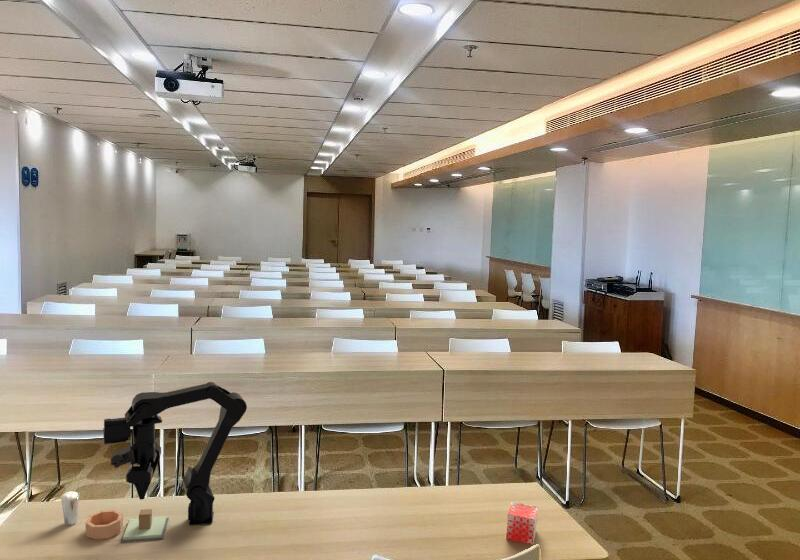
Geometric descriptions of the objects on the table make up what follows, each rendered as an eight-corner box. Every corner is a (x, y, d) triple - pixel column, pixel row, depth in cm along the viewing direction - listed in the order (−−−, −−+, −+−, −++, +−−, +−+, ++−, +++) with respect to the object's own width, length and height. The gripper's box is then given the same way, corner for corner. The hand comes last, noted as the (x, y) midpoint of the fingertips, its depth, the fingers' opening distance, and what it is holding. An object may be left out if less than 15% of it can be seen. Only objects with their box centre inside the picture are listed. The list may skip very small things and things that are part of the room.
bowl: (124, 522, 178) (124, 509, 177) (118, 538, 169) (118, 525, 169) (91, 524, 176) (91, 511, 175) (83, 541, 167) (82, 527, 167)
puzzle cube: (533, 545, 177) (535, 519, 176) (505, 539, 179) (507, 513, 178) (536, 531, 184) (538, 506, 183) (510, 525, 187) (511, 501, 186)
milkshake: (74, 528, 173) (73, 495, 172) (58, 525, 174) (57, 492, 173) (85, 520, 178) (85, 488, 176) (69, 517, 179) (69, 485, 177)
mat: (168, 519, 181) (168, 517, 181) (163, 539, 170) (163, 538, 170) (128, 521, 178) (128, 520, 178) (120, 542, 168) (120, 541, 167)
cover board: (166, 518, 180) (166, 502, 179) (161, 537, 170) (161, 519, 170) (130, 521, 178) (130, 504, 177) (122, 540, 168) (122, 522, 167)
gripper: (120, 427, 178) (121, 478, 180) (104, 454, 160) (106, 510, 162) (161, 425, 180) (161, 475, 182) (149, 452, 162) (150, 506, 164)
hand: (145, 491), depth 173 cm, fingers open, 9 cm apart
